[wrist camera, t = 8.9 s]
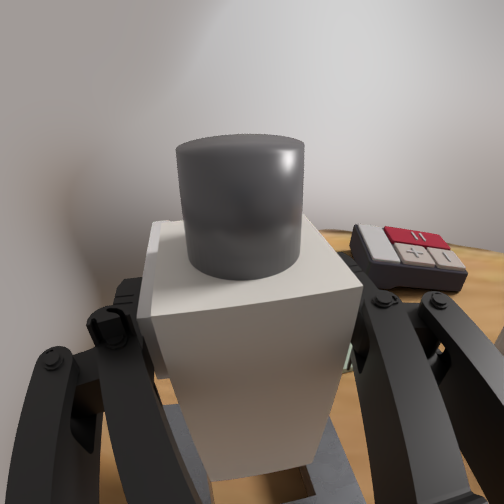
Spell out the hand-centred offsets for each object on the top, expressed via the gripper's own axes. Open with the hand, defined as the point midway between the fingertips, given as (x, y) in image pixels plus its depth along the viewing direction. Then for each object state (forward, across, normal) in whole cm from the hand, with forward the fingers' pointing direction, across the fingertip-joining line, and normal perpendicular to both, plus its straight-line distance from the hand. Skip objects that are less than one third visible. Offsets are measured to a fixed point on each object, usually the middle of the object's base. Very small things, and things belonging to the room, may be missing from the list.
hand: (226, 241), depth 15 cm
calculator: (+17, +26, -16) cm, 35 cm away
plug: (-5, 0, -9) cm, 10 cm away
